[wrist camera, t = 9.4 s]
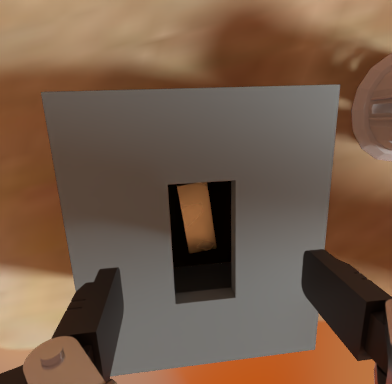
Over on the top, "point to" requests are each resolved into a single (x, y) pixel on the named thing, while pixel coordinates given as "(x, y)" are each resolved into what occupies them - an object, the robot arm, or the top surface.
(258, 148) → the box
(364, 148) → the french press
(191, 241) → the wooden block
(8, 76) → the top surface
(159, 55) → the top surface
